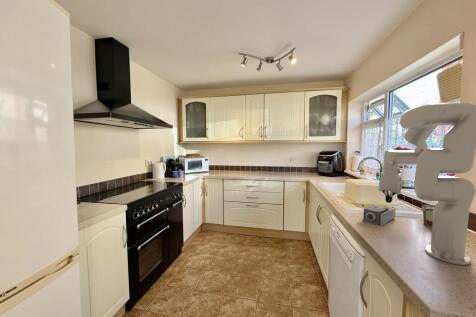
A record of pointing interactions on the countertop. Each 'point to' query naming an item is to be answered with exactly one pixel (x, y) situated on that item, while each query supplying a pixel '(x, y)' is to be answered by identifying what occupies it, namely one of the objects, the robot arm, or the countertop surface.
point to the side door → (387, 216)
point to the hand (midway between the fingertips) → (388, 202)
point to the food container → (428, 214)
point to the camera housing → (374, 214)
